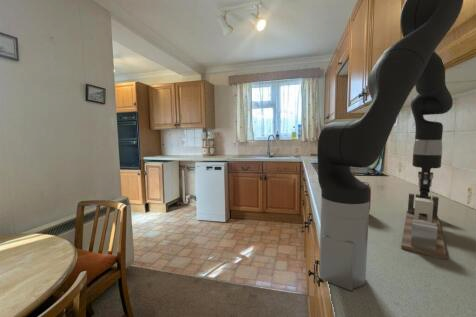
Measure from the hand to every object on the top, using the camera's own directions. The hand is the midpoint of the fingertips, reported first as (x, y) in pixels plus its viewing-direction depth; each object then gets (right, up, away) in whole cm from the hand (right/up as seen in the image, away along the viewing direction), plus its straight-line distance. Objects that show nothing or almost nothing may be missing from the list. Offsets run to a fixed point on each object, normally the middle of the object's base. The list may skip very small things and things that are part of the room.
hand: (423, 202), depth 79 cm
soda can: (-17, -6, +10) cm, 21 cm away
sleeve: (-5, -5, -5) cm, 9 cm away
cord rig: (-6, -8, -7) cm, 12 cm away
